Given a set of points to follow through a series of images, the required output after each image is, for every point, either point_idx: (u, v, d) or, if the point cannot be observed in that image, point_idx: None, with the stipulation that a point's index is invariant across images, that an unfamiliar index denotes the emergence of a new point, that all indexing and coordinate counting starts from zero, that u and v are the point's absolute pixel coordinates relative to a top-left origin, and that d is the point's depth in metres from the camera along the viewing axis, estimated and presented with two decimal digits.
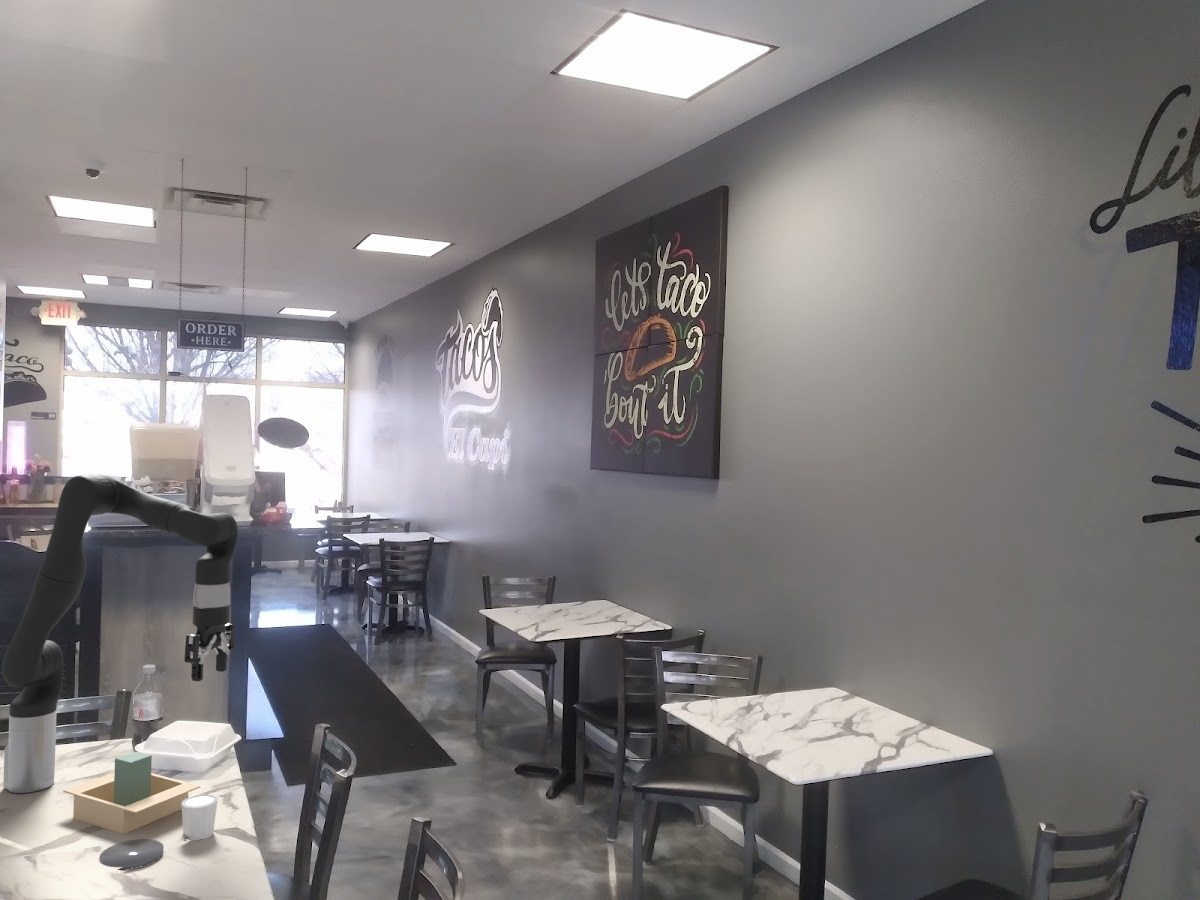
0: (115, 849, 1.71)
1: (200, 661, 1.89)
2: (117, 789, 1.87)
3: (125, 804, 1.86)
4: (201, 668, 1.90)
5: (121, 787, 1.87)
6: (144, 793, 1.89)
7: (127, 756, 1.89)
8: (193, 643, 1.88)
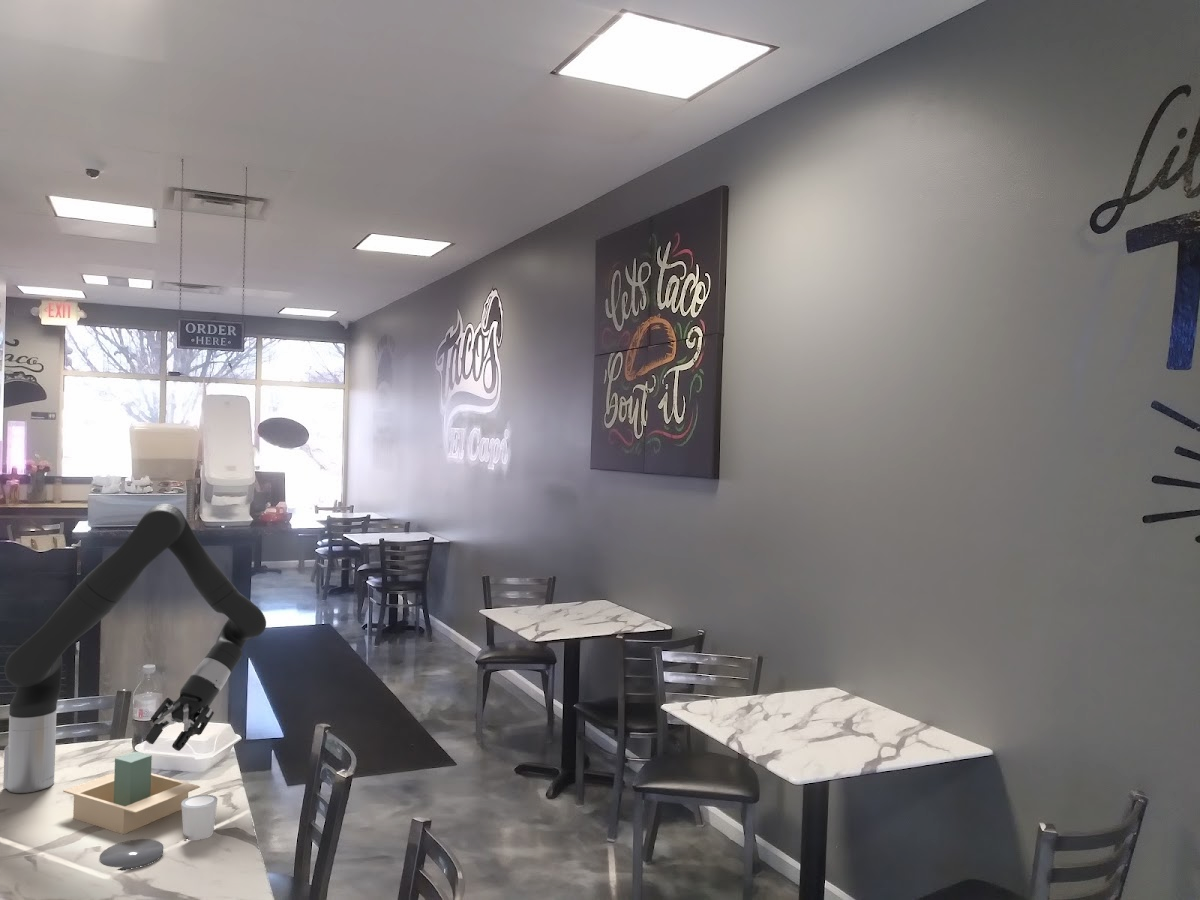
0: (115, 849, 1.71)
1: None
2: (117, 789, 1.87)
3: (125, 804, 1.86)
4: None
5: (121, 787, 1.87)
6: (144, 793, 1.89)
7: (127, 756, 1.89)
8: (209, 717, 1.98)
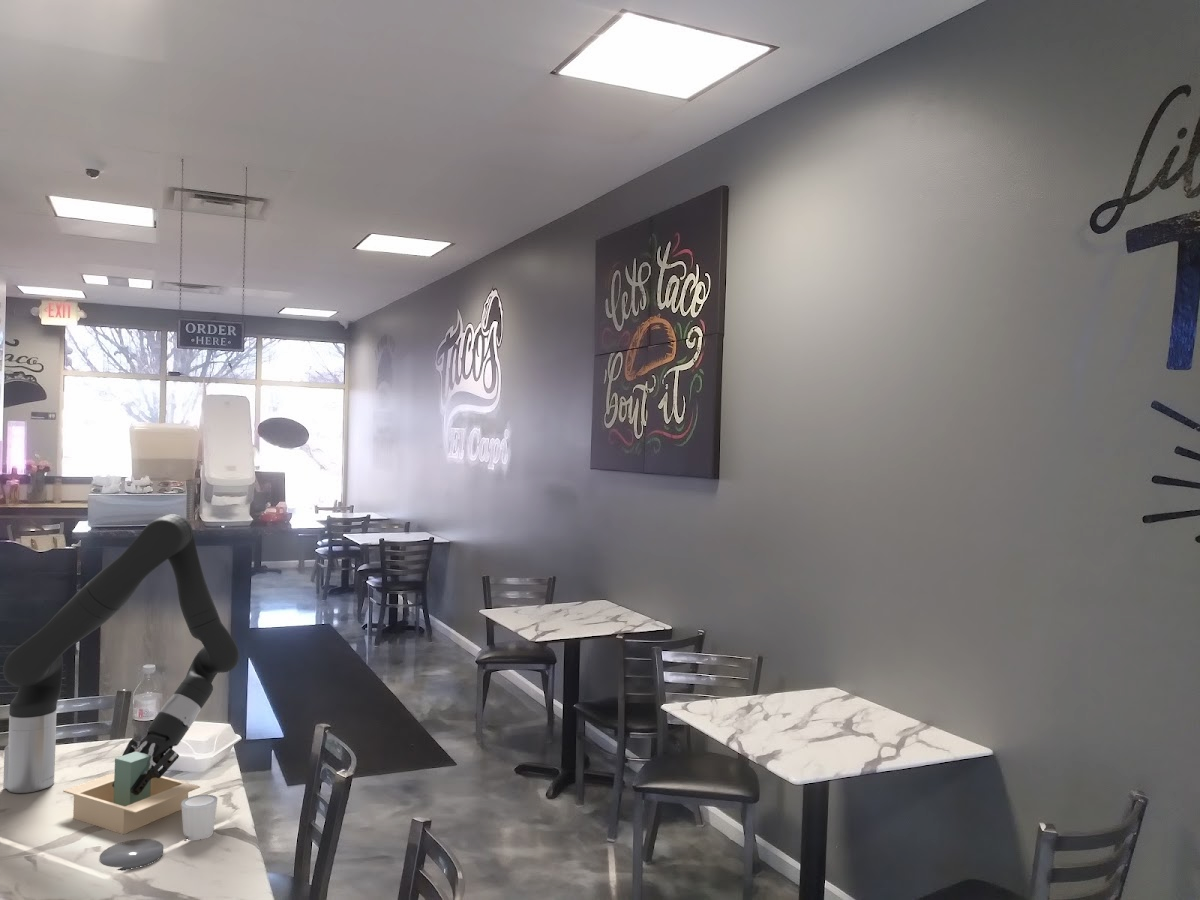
0: (115, 849, 1.71)
1: None
2: (117, 789, 1.87)
3: (125, 804, 1.86)
4: None
5: (121, 787, 1.87)
6: (144, 793, 1.89)
7: (127, 756, 1.89)
8: (172, 761, 1.90)
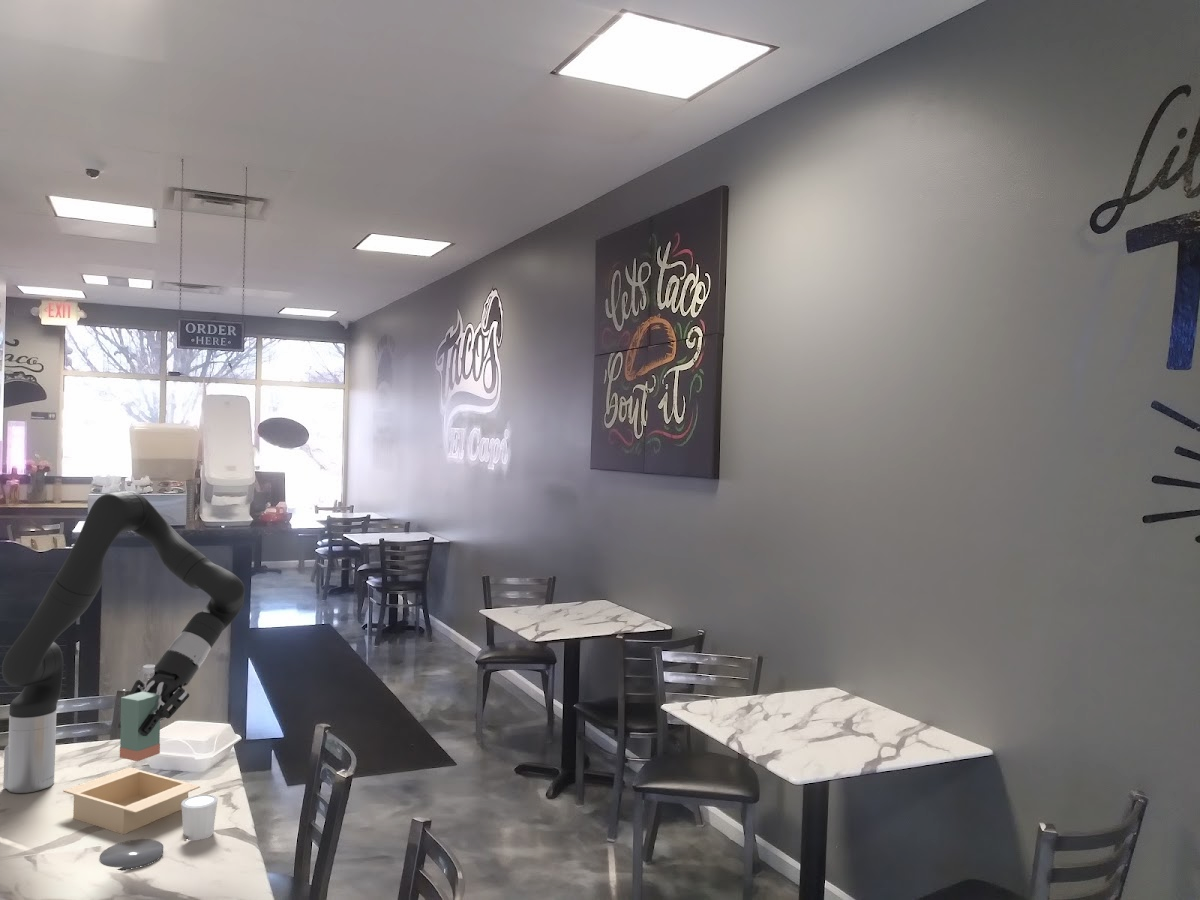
0: (115, 849, 1.71)
1: None
2: (124, 730, 1.75)
3: (133, 746, 1.74)
4: None
5: (128, 728, 1.74)
6: (153, 734, 1.76)
7: (134, 696, 1.76)
8: (182, 700, 1.78)
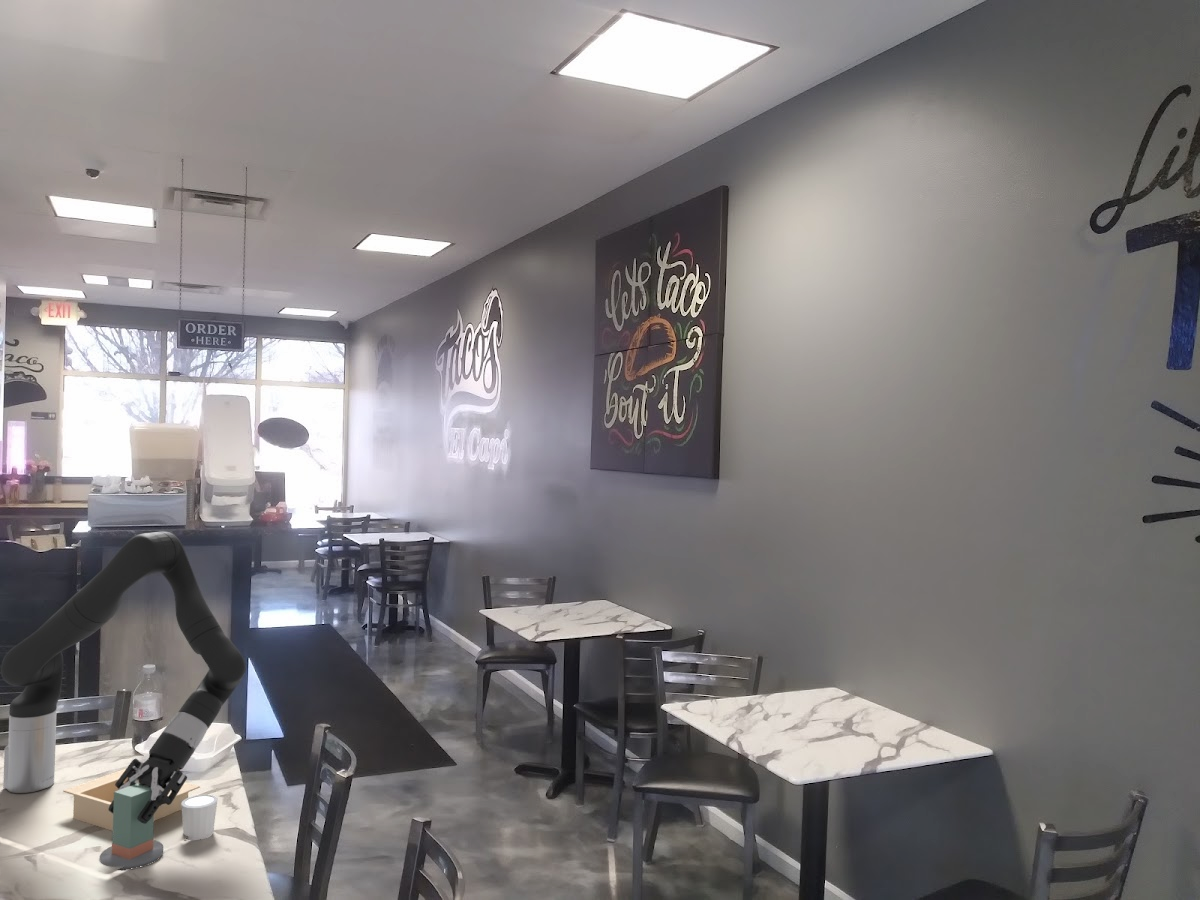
0: None
1: None
2: (117, 825, 1.69)
3: (125, 843, 1.68)
4: None
5: (121, 824, 1.69)
6: (146, 830, 1.71)
7: (127, 790, 1.71)
8: (181, 783, 1.72)
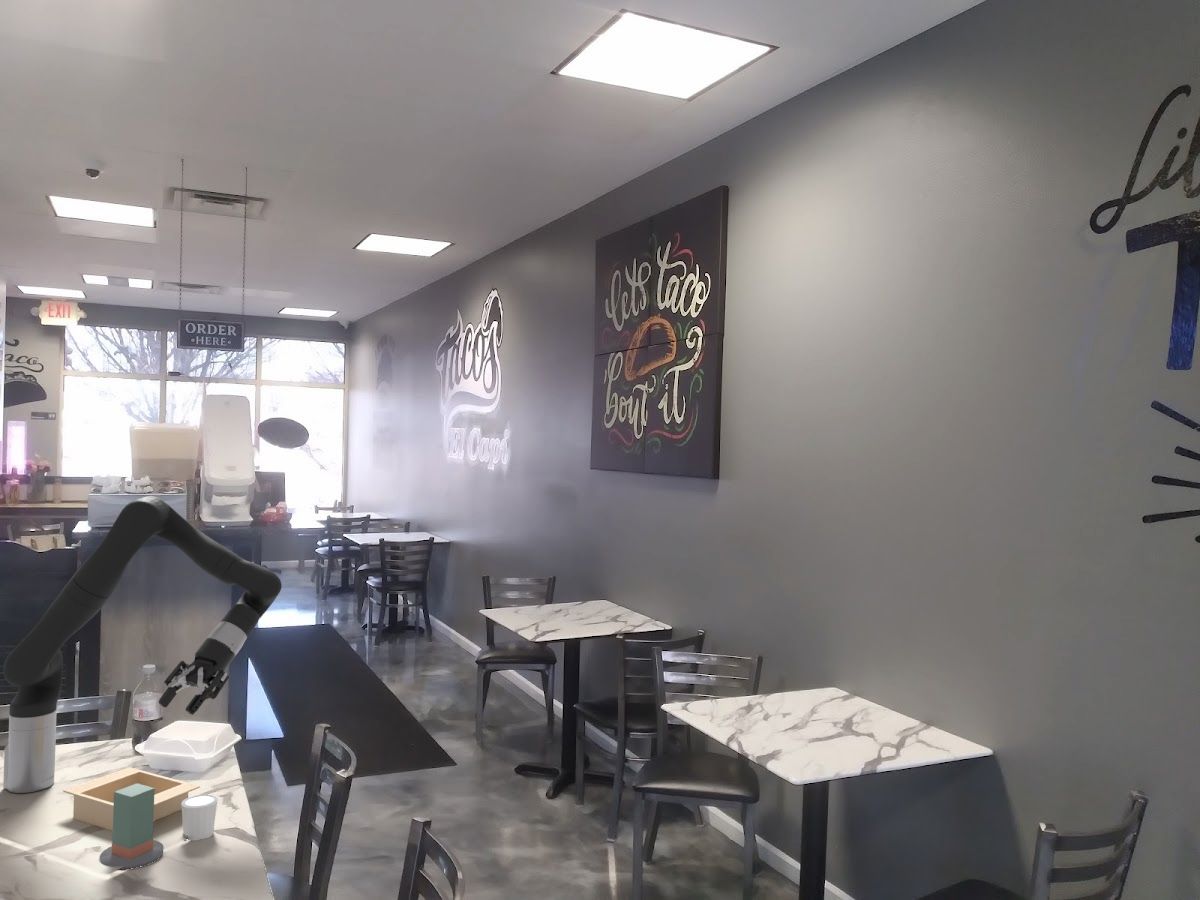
0: None
1: None
2: (117, 825, 1.69)
3: (125, 843, 1.68)
4: None
5: (121, 824, 1.69)
6: (146, 830, 1.71)
7: (127, 790, 1.71)
8: (224, 681, 1.92)
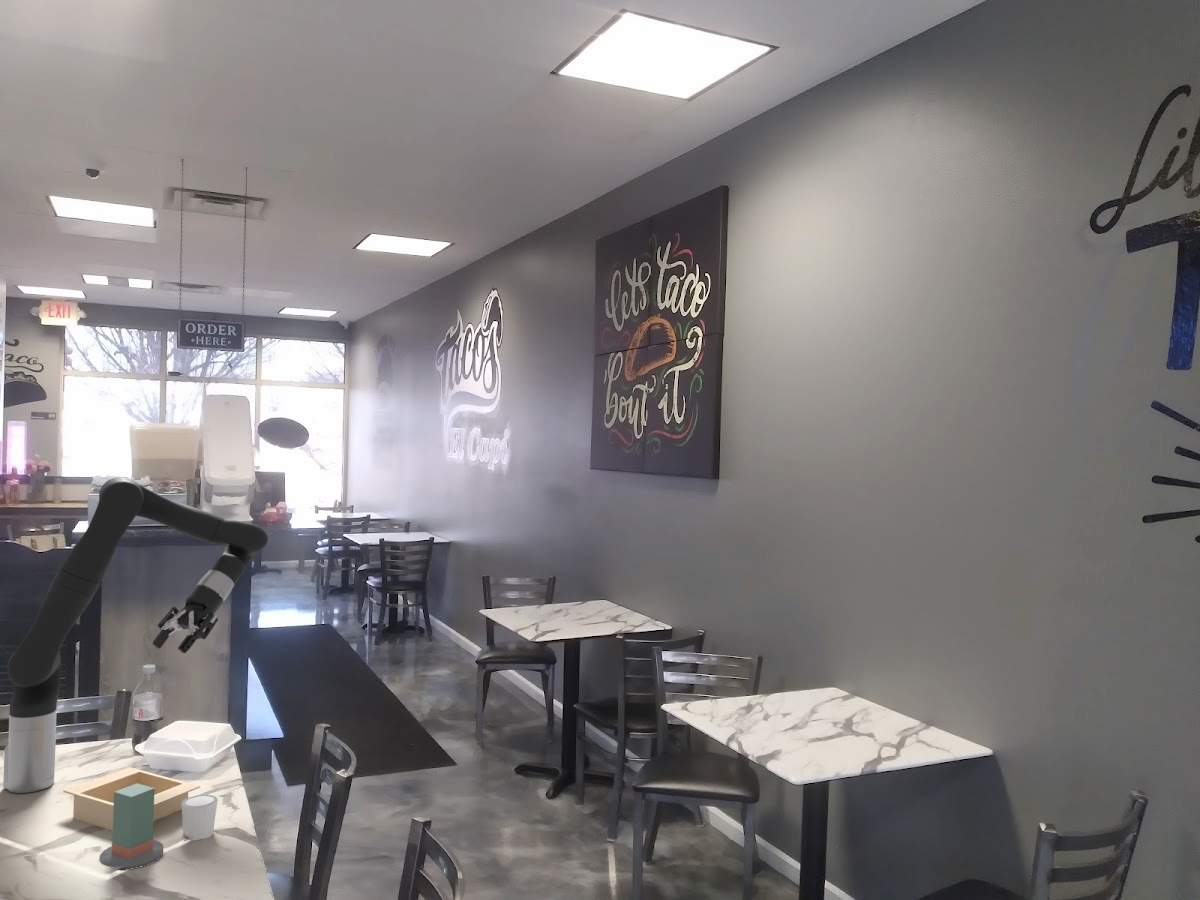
0: None
1: None
2: (117, 825, 1.69)
3: (125, 843, 1.68)
4: None
5: (121, 824, 1.69)
6: (146, 830, 1.71)
7: (127, 790, 1.71)
8: (213, 623, 2.07)
